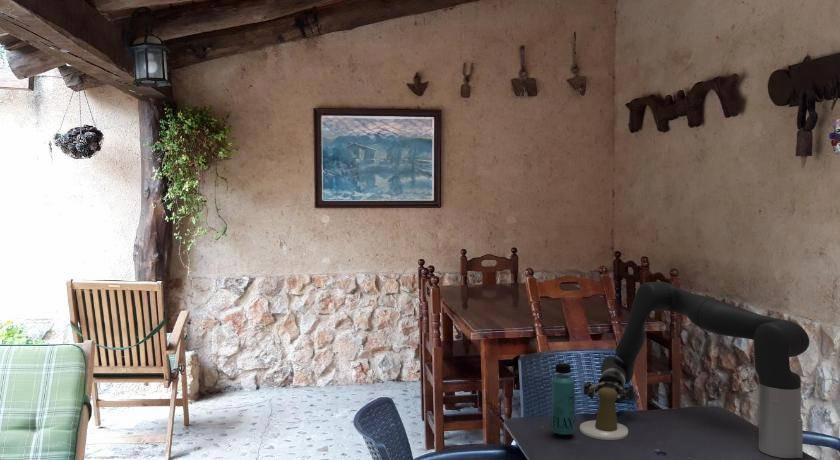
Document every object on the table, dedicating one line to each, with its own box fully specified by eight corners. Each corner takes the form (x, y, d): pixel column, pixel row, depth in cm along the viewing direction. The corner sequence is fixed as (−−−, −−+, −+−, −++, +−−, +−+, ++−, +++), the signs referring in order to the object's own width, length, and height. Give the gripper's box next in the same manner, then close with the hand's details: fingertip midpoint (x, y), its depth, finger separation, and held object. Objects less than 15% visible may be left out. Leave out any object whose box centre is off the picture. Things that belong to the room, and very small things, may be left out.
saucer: (630, 426, 174) (630, 423, 174) (626, 442, 163) (626, 439, 162) (583, 421, 180) (583, 418, 180) (576, 436, 168) (576, 432, 168)
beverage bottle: (548, 438, 167) (547, 365, 166) (555, 430, 173) (554, 360, 172) (572, 441, 164) (571, 368, 163) (578, 433, 170) (577, 362, 169)
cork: (617, 432, 167) (619, 393, 167) (594, 429, 169) (596, 390, 169) (617, 425, 173) (619, 386, 173) (595, 422, 175) (596, 384, 175)
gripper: (588, 368, 195) (581, 381, 180) (635, 372, 189) (631, 386, 174) (589, 391, 195) (581, 407, 180) (636, 396, 189) (632, 412, 174)
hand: (606, 397), depth 177 cm, fingers open, 8 cm apart
